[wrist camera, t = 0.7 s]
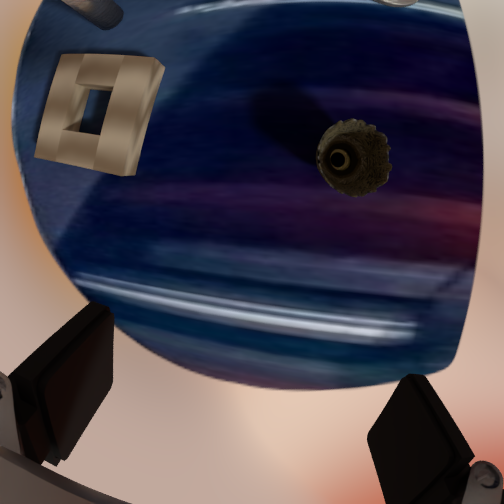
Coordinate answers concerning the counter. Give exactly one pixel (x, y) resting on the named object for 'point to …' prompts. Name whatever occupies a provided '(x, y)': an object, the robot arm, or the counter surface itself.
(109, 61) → the square wooden frame
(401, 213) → the counter surface
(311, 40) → the counter surface
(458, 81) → the counter surface
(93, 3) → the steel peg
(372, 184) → the brown bumpy hollow part
